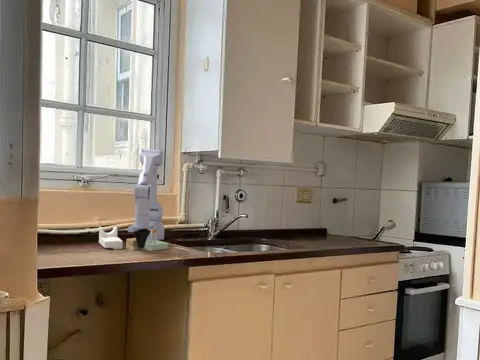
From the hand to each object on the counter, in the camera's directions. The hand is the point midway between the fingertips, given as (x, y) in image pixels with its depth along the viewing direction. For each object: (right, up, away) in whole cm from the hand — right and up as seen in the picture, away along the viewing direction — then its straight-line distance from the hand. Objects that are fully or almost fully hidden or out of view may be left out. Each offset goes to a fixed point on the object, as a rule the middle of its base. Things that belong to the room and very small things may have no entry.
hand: (141, 247), depth 187 cm
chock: (-4, -1, +4) cm, 6 cm away
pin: (+4, -1, +7) cm, 8 cm away
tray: (+4, -1, +8) cm, 8 cm away
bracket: (-14, -1, +7) cm, 16 cm away
